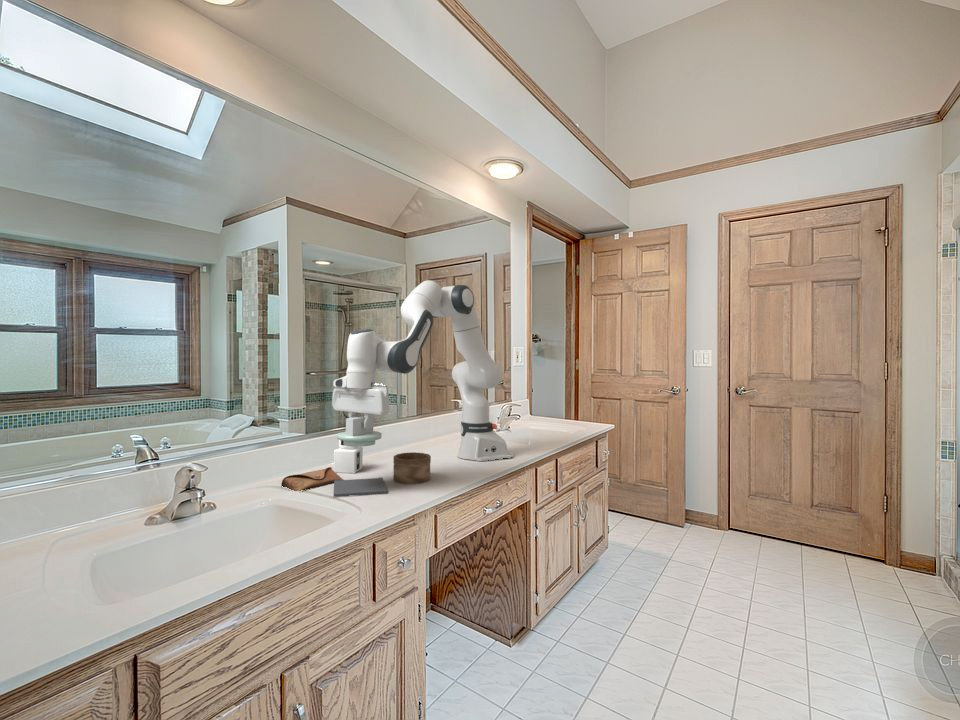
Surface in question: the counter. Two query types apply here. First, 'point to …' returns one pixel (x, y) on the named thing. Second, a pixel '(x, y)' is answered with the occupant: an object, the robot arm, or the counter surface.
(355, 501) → the counter surface
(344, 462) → the container
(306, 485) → the sunglasses case
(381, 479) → the mat
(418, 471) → the canister
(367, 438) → the lid
